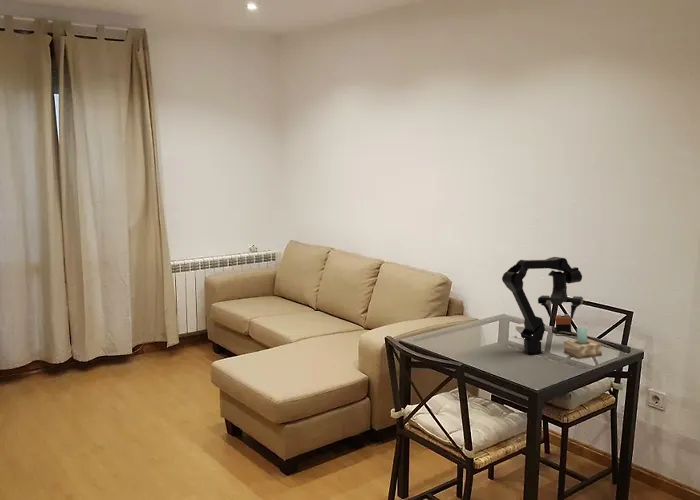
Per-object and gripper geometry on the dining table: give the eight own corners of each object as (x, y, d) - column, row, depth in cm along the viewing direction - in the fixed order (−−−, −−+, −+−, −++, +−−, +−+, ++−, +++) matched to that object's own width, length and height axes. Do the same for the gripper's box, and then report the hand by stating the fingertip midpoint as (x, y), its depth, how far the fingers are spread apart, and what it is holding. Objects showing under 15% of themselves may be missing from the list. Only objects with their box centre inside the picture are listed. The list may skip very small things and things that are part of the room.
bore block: (578, 358, 259) (578, 347, 258) (564, 352, 269) (563, 341, 269) (601, 355, 261) (601, 343, 260) (586, 349, 272) (585, 338, 271)
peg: (581, 353, 263) (580, 330, 262) (575, 350, 266) (574, 328, 266) (589, 352, 263) (588, 329, 263) (583, 349, 267) (583, 327, 266)
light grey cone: (533, 336, 299) (533, 324, 298) (527, 339, 295) (526, 327, 294) (522, 335, 303) (522, 323, 303) (516, 337, 299) (515, 325, 299)
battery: (571, 335, 295) (570, 315, 294) (556, 335, 297) (555, 315, 296) (570, 333, 299) (569, 313, 298) (556, 333, 301) (555, 313, 300)
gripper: (533, 287, 273) (535, 321, 275) (577, 288, 263) (578, 324, 265) (540, 283, 282) (542, 316, 284) (582, 284, 272) (584, 318, 274)
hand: (561, 318), depth 277 cm, fingers open, 9 cm apart
